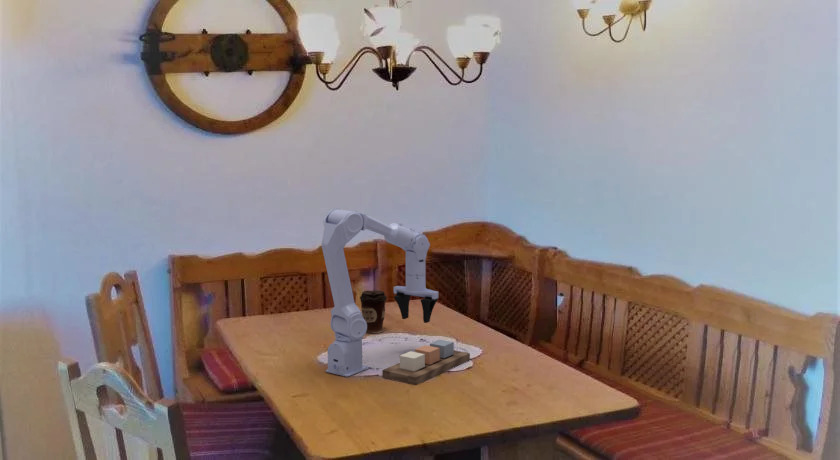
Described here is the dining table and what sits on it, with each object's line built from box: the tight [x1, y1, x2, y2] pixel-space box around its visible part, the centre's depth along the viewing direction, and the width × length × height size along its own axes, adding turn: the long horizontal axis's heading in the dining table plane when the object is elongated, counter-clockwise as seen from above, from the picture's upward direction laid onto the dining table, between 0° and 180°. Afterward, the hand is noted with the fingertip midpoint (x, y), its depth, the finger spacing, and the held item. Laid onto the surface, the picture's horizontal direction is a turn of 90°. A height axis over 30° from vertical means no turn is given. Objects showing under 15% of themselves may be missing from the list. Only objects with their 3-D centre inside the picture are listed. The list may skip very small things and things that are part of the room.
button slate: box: [429, 339, 455, 358], centre depth 225 cm, size 5×5×4 cm
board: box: [381, 350, 471, 386], centre depth 220 cm, size 26×11×2 cm, turn 144°
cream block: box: [399, 350, 425, 371], centre depth 214 cm, size 5×5×4 cm
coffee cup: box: [359, 289, 388, 334], centre depth 258 cm, size 9×8×13 cm
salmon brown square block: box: [414, 344, 440, 365], centre depth 219 cm, size 5×5×4 cm
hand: (415, 320), depth 232 cm, fingers open, 7 cm apart
